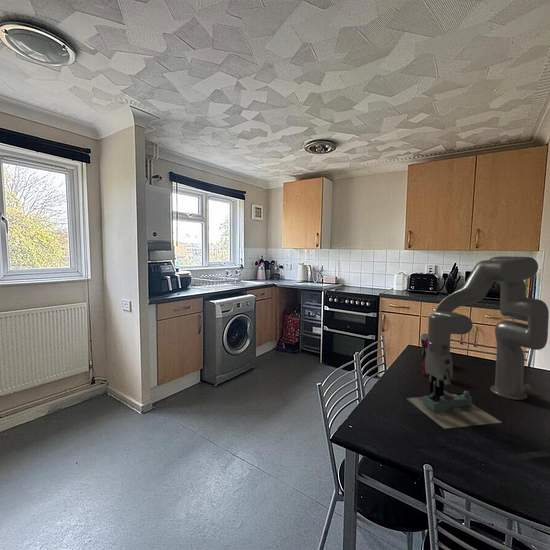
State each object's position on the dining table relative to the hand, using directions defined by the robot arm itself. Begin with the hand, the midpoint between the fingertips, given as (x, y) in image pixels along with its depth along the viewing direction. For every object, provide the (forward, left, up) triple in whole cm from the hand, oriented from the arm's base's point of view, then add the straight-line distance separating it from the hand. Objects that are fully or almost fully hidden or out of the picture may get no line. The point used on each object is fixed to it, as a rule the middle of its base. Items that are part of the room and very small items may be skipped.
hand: (436, 393), depth 117 cm
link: (-6, 0, -5) cm, 8 cm away
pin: (0, 0, -2) cm, 2 cm away
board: (-5, +2, -7) cm, 8 cm away
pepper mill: (-21, -32, -7) cm, 39 cm away
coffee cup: (-33, -49, -7) cm, 60 cm away
